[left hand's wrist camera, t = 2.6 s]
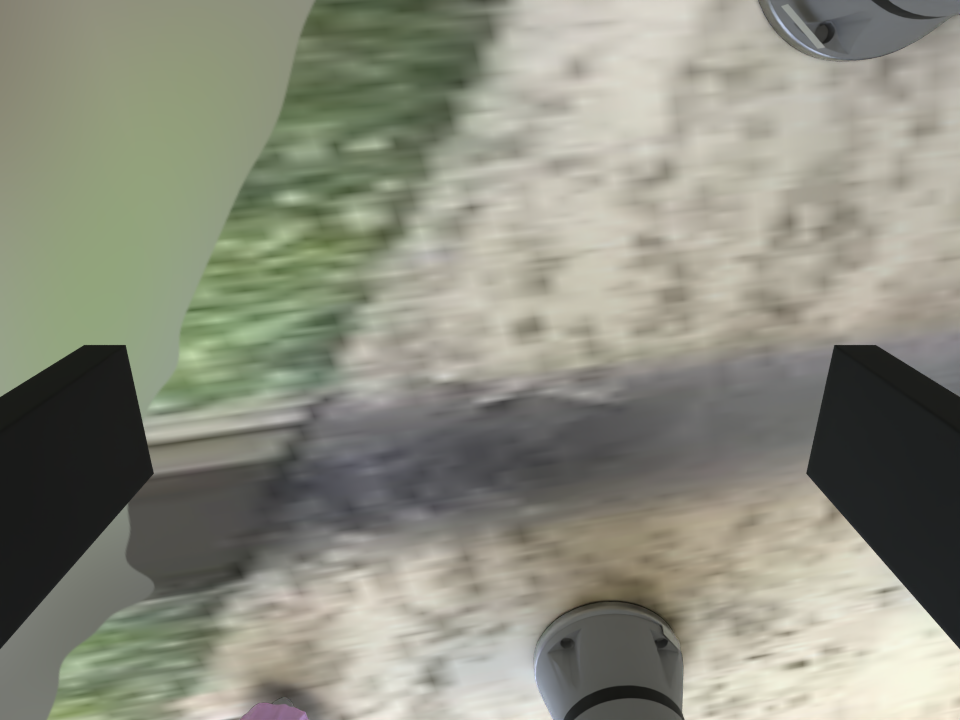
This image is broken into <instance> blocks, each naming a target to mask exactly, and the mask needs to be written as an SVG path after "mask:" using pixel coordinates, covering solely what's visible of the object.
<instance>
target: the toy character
mask: <svg viewBox="0 0 960 720" xmlns="http://www.w3.org/2000/svg"><path fill="white" fill-rule="evenodd" d="M240 720H309V719H308V717H307V715H306V712H305V711H301V710H299V709H297V708H295V707H294V705H293V703H292V702H291V700H290V699H288V698H285V697H283V698H280V699H278V700H276V701H275V702H273V703H272V704H270V703H258V704H256V705H255V706H254V707H252V708H251V710H250V711H249V712H248V713H247V714H245V715H244V716H243V717H242V718H241V719H240Z"/></svg>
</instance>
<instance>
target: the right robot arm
mask: <svg viewBox="0 0 960 720" xmlns="http://www.w3.org/2000/svg"><path fill="white" fill-rule="evenodd" d="M759 3H760V5H761V7H762V10H763V12H764V14H765V16H766V17H767V19H768V21H769V22H770V24H771V25H772V27H773V28H774V29H775V31H776V32H777V33H778V34H779V35H780V36H781V37H782V38H783V39H784V40H785V41H786V42H788V43H789V44H790V45H791V46H793V47H794V48H796V49H798V50H799V51H801V52H803V53H805V54H807V55H810V56H813V57H816V58H819V59H824V60H830V61H854V60H864V59H871V58H876V57H881V56H884V55H887V54H890V53H893V52H895V51H898V50H900V49H902V48H904V47H906V46H908V45H910V44H912V43H914V42H916V41H917V40H919V39H921V38H922V37H924V36H925V35H927V34H928V33H930V32H931V31H933V30H934V29H935V28H937V27H938V26H940V25H941V24H942V23H944V22H945V21H946V20H948V19H949V18H950V17H952V16H953V15H958V14H960V0H759Z"/></svg>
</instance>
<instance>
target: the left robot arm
mask: <svg viewBox="0 0 960 720" xmlns="http://www.w3.org/2000/svg"><path fill="white" fill-rule="evenodd" d="M153 474H154V473H153V468H152V464H151V459H150V454H149V450H148V445H147V441H146V436H145V432H144V427H143V422H142V418H141V413H140V409H139V404H138V400H137V395H136V390H135V386H134V381H133V377H132V372H131V368H130V363H129V359H128V354H127V349H126V345H84V346H82V347H80V348H79V349H77V350H76V351H74V352H72V353H71V354H69V355H67V356H66V357H64V358H63V359H61V360H59V361H58V362H56V363H55V364H53V365H51V366H50V367H48V368H47V369H45V370H43V371H42V372H40V373H38V374H37V375H35V376H34V377H32V378H30V379H29V380H27V381H25V382H24V383H22V384H21V385H19V386H18V387H16V388H14V389H13V390H11V391H9V392H8V393H6V394H4V395H3V396H1V397H0V649H1V648H2V646H3V645H4V644H5V643H6V642H7V641H8V639H9V638H10V637H11V636H12V635H13V634H14V633H15V632H16V630H17V629H18V628H19V627H20V626H21V625H22V624H23V622H24V621H25V620H26V619H27V618H28V617H29V615H30V614H31V613H32V612H33V611H34V610H35V609H36V607H37V606H38V605H39V604H40V603H41V602H42V601H43V599H44V598H45V597H46V596H47V595H48V594H49V593H50V592H51V590H52V589H53V588H54V587H55V586H56V585H57V583H58V582H59V581H60V580H61V579H62V578H63V577H64V575H65V574H66V573H67V572H68V571H69V570H70V569H71V567H72V566H73V565H74V564H75V563H76V562H77V561H78V559H79V558H80V557H81V556H82V555H83V554H84V553H85V551H86V550H87V549H88V548H89V547H90V546H91V545H92V543H93V542H94V541H95V540H96V539H97V538H98V537H99V535H100V534H101V533H102V532H103V531H104V530H105V529H106V527H107V526H108V525H109V524H110V523H111V522H112V521H113V519H114V518H115V517H116V516H117V515H118V514H119V513H120V511H121V510H122V509H123V508H124V507H125V506H126V505H127V503H128V502H129V501H130V500H131V499H132V498H133V497H134V495H135V494H136V493H137V492H138V491H139V490H140V489H141V487H142V486H143V485H144V484H145V483H146V482H147V481H148V479H149V478H150V477H151V476H152V475H153ZM806 474H807V475H808V476H809V477H810V478H811V479H812V481H813V482H814V483H815V484H816V485H817V486H818V487H819V489H820V490H821V491H822V492H823V493H824V494H825V495H826V497H827V498H828V499H829V500H830V501H831V502H832V503H833V505H834V506H835V507H836V508H837V509H838V510H839V511H840V513H841V514H842V515H843V516H844V517H845V518H846V519H847V521H848V522H849V523H850V524H851V525H852V526H853V527H854V529H855V530H856V531H857V532H858V533H859V534H860V535H861V537H862V538H863V539H864V540H865V541H866V542H867V543H868V545H869V546H870V547H871V548H872V549H873V550H874V551H875V553H876V554H877V555H878V556H879V557H880V558H881V559H882V561H883V562H884V563H885V564H886V565H887V566H888V567H889V569H890V570H891V571H892V572H893V573H894V574H895V575H896V577H897V578H898V579H899V580H900V581H901V582H902V583H903V585H904V586H905V587H906V588H907V589H908V590H909V592H910V593H911V594H912V595H913V596H914V597H915V598H916V600H917V601H918V602H919V603H920V604H921V605H922V606H923V608H924V609H925V610H926V611H927V612H928V613H929V614H930V616H931V617H932V618H933V619H934V620H935V621H936V622H937V624H938V625H939V626H940V627H941V628H942V629H943V630H944V632H945V633H946V634H947V635H948V636H949V637H950V638H951V640H952V641H953V642H954V643H955V644H956V645H957V646H958V648H959V649H960V397H959V396H957V395H956V394H954V393H952V392H951V391H949V390H947V389H946V388H944V387H943V386H941V385H939V384H938V383H936V382H935V381H933V380H931V379H930V378H928V377H926V376H925V375H923V374H922V373H920V372H918V371H917V370H915V369H914V368H912V367H910V366H909V365H907V364H905V363H904V362H902V361H901V360H899V359H897V358H896V357H894V356H893V355H891V354H889V353H888V352H886V351H884V350H883V349H881V348H880V347H878V346H876V345H834V349H833V354H832V358H831V363H830V368H829V372H828V377H827V381H826V386H825V390H824V395H823V400H822V404H821V409H820V413H819V418H818V422H817V427H816V432H815V436H814V441H813V445H812V450H811V454H810V459H809V464H808V468H807V473H806ZM534 670H535V679H536V683H537V687H538V689H539V692H540V694H541V696H542V698H543V700H544V702H545V704H546V706H547V708H548V710H549V712H550V714H551V716H552V718H553V720H684V717H683V714H682V698H683V658H682V653H681V649H680V644H679V641H678V640H677V638H676V637H675V634H674V632H673V631H672V629H671V628H670V626H669V625H668V624H667V623H666V622H665V621H664V620H663V619H662V618H661V617H659V616H658V615H657V614H655V613H653V612H652V611H650V610H648V609H646V608H643V607H640V606H637V605H634V604H629V603H623V602H600V603H594V604H589V605H585V606H582V607H579V608H576V609H574V610H572V611H569V612H568V613H566V614H564V615H562V616H561V617H559V618H558V619H557V620H555V621H554V622H553V623H552V624H551V625H550V626H549V627H548V628H547V629H546V630H545V631H544V633H543V634H542V636H541V637H540V639H539V641H538V643H537V646H536V649H535V653H534Z"/></svg>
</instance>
